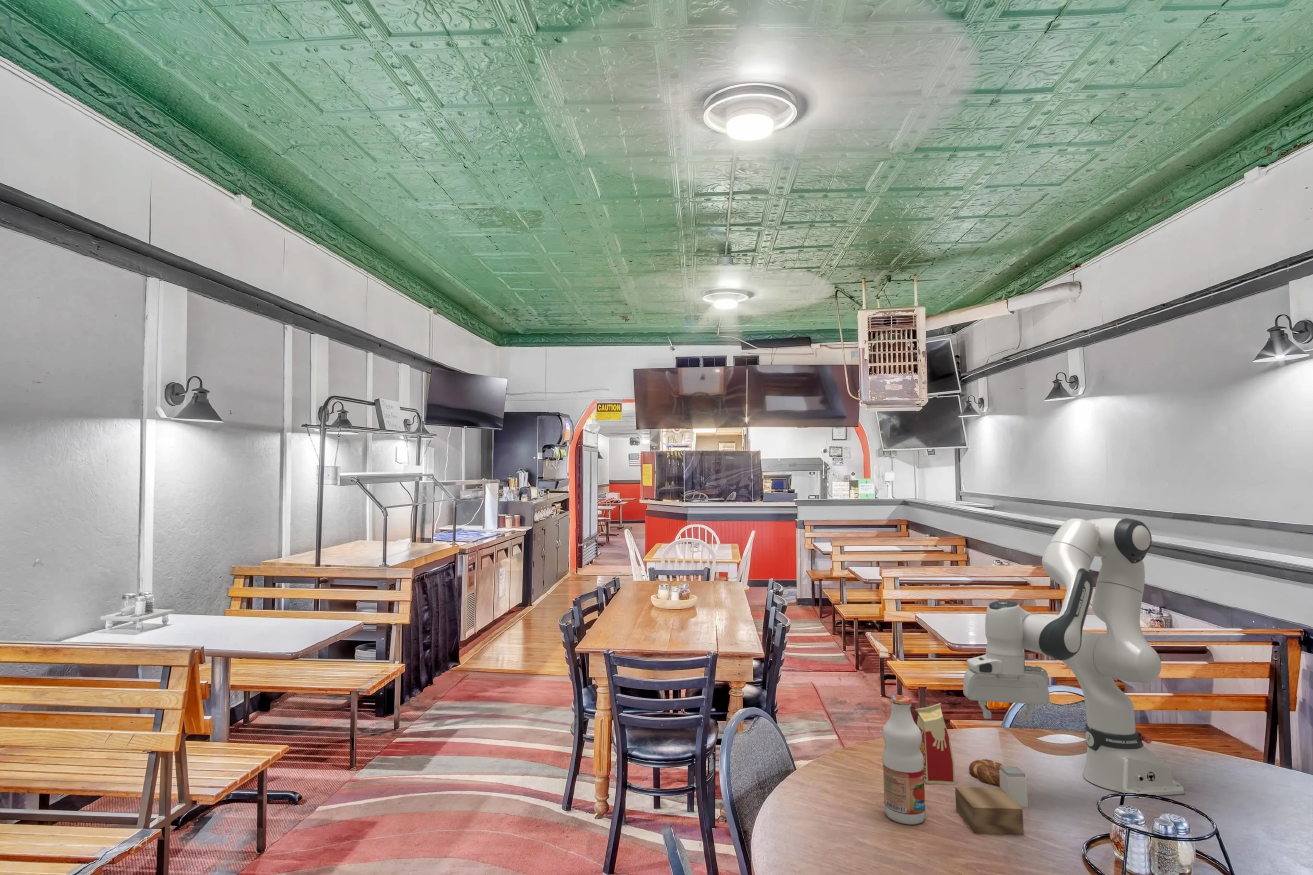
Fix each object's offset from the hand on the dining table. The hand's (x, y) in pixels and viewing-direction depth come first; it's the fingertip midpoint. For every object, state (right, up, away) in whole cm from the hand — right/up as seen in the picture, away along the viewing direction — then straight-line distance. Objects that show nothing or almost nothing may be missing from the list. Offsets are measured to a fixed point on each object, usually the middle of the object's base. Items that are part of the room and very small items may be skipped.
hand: (1006, 719), depth 169 cm
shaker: (0, -20, -3) cm, 20 cm away
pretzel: (+2, -22, +12) cm, 25 cm away
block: (-11, -19, -13) cm, 26 cm away
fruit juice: (-30, -20, -10) cm, 37 cm away
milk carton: (-14, -22, +12) cm, 28 cm away
